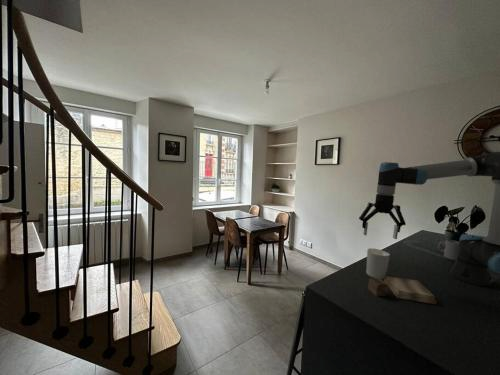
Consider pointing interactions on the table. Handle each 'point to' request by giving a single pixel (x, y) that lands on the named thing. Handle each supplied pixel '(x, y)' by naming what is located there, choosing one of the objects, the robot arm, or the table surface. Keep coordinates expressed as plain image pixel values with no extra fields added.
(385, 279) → the stand
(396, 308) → the table surface
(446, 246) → the mug
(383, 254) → the candle holder
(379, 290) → the walnut block
